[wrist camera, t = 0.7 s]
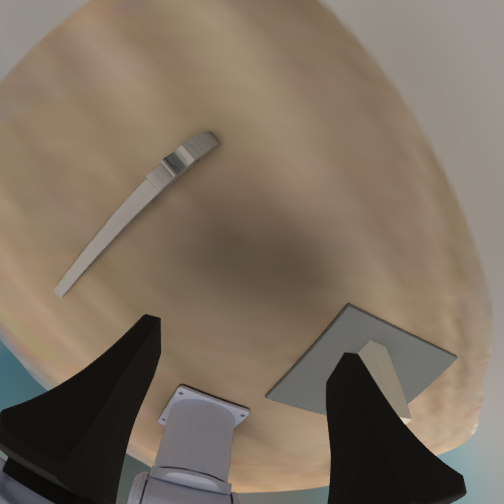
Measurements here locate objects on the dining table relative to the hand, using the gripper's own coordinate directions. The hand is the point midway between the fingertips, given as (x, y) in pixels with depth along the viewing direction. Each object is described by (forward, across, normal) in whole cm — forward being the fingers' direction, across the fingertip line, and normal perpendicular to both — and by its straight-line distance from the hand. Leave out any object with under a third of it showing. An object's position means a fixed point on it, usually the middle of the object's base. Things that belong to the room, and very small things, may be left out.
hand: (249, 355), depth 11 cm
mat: (+10, -14, +12) cm, 21 cm away
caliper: (+11, +11, +2) cm, 15 cm away
